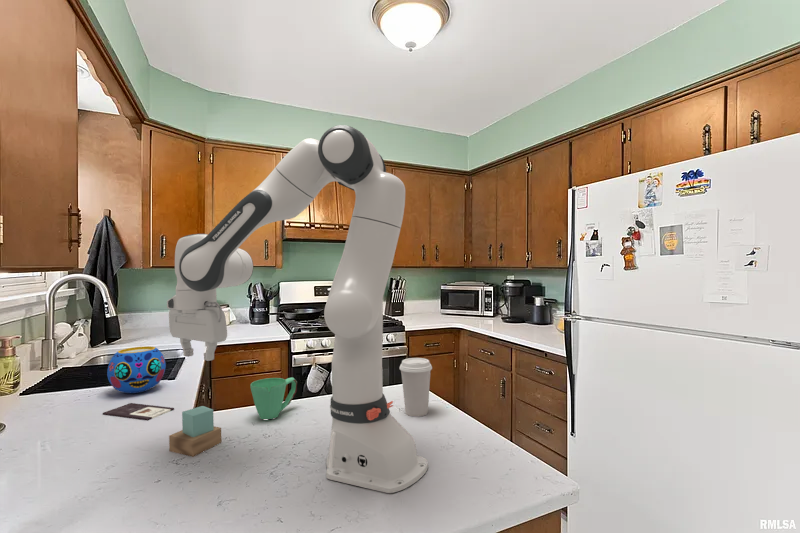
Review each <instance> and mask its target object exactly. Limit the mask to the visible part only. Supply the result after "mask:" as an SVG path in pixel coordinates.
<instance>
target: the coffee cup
mask: <svg viewBox="0 0 800 533" xmlns="http://www.w3.org/2000/svg"><path fill="white" fill-rule="evenodd" d="M399 370H400V373H401V382H402V383H401V384H402V391H403V392H402V393H403V400H404V401H403V402H404V410H405V414H406V416H409V417H413V418H414V417H415V418H419V417H424V416H427V415H428V413H429V403H430V402H429V400H430V386H431V385H430V383H431V371H432V370H433V366H432V364H431V361H430V359H428V358H424V357H423V358H422V357H409V358H405V359H402V360H401V363H400V365H399Z"/></svg>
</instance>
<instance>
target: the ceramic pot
mask: <svg viewBox="0 0 800 533" xmlns="http://www.w3.org/2000/svg"><path fill="white" fill-rule="evenodd" d="M166 364H167V363H166V360H165V356H164V354H163V353H162V351H161V350H160V349H158V348H157V347H156V346H149V345H148V346H135V347H128V348H123V349H120V350H118V351H117V352H115V353H114V354H113V355H112V356H111V358H110V361H109V363H108V366H107V370H106V371H107V372H106V375H107V380H108V382H109V384H110V385H111V386H112V388H113V389H115V390H117V391H118V392H120V393H124V394H125V393H126V394H138V393H143V392H147V391H148V390H151V389H152V388H154V387H156V386H157V385H159V384H160V382H161V380H162V379H163V376H164V375H165V374H166V373H165V372H166V368H167V365H166Z"/></svg>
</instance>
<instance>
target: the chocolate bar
mask: <svg viewBox="0 0 800 533" xmlns="http://www.w3.org/2000/svg"><path fill="white" fill-rule="evenodd" d="M174 410H175V408H174V407H170V406H160V405H154V404H153V405H152V404H151V405H150V404H143V403H135V402H130V403H129V402H128V403H127V404H124V405H121V406H119V407H115V408H112V409H110V410H107V411H103V412H102V416H103V415H104V416H110V417H117V418H118V417H119V418H125V419H133V420H134V419H135V420H141V421H150V420H152V419H155V418H157V417H160V416H162V415H165V414H167V413H169V412H172V411H174Z"/></svg>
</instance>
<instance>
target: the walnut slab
mask: <svg viewBox="0 0 800 533" xmlns="http://www.w3.org/2000/svg"><path fill="white" fill-rule="evenodd" d="M221 442H223V441H222V427H220V426H214V430H213V431H210V432H207V433H204V434H201V435H199V436H196V437H191V436H189V435H187V434H184V433H183V430H182V429H181V430H178V431H177V432H175V433H171V434H170V435H168V443H169V444H168V445H169V446H168V447H169V448H168V450H169V452H171V453H176V454H180V455H184V456H189V457H193V458H194V457H196V456H198V455H200V454H202V453H204V452H206V451H208V450H210V449H212V448H214V447H216V446H218V445H220V444H221ZM219 443H220V444H219ZM217 444H218V445H217ZM215 445H216V446H215ZM213 446H214V447H213ZM203 451H204V452H203Z"/></svg>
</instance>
